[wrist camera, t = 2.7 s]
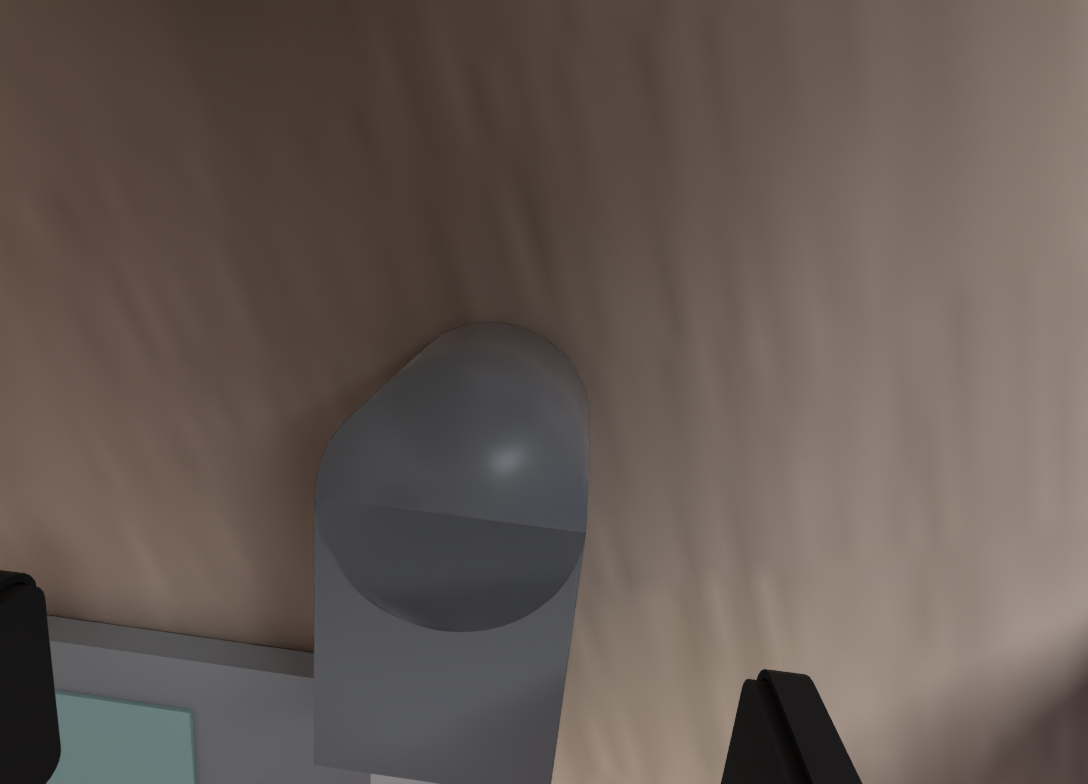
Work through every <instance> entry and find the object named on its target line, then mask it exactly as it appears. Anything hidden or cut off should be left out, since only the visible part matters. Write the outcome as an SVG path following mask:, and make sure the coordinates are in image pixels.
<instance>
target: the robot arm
mask: <svg viewBox="0 0 1088 784" xmlns="http://www.w3.org/2000/svg"><path fill="white" fill-rule="evenodd" d="M60 755H61V743H60V734H59V724H58V715H57V706H56V696H55V687H54V678H53V668H52V659H51V650H50V640H49V631H48V622H47V613H46V603H45V596H44V593H43V591H42V590H41V589H40V588H38V587H37V586H36V583H35V580H34V579H33V578H32V577H31V576H30V575H27V574H25V573H17V572H10V571H2V570H0V784H46V783H47V782H48V780H49V779H50V778H51V777H52V775H53V773H54V771H55V770H56V768H57V765H58V763H59V760H60ZM721 784H862V782H861V780H860V778H859V776H858V774H857V772H856V770H855V768H854V766H853V763H852V761H851V759H850V757H849V755H848V753H847V751H846V749H845V747H844V745H843V743H842V741H841V739H840V737H839V735H838V732H837V730H836V728H835V726H834V724H833V722H832V720H831V718H830V716H829V714H828V712H827V710H826V708H825V706H824V703H823V701H822V699H821V697H820V695H819V693H818V691H817V689H816V687H815V685H814V683H813V681H812V680H811V678H810V677H809V676H807V675H805V674H798V673H790V672H782V671H775V670H767V669H764V670H761V672H760V673H759V675H758V678H757V680H752V679H747V680H745V682H744V684H743V687H742V691H741V695H740V700H739V705H738V709H737V714H736V718H735V723H734V727H733V732H732V736H731V741H730V745H729V750H728V754H727V759H726V763H725V768H724V772H723V777H722V781H721Z"/></svg>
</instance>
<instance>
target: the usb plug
mask: <svg viewBox="0 0 1088 784" xmlns="http://www.w3.org/2000/svg"><path fill="white" fill-rule="evenodd" d="M589 427H590V413H589V403H588V398H587V394H586V391H585V388H584V385H583V382H582V380H581V378H580V376H579V374H578V373H577V371H576V369H575V368H574V366H573V365H572V363H571V362H570V361H569V359H568V358H567V357H566V356H565V355H564V354H563V353H562V352H561V351H560V350H559V349H558V348H557V347H556V346H554V345H553V344H552V343H551V342H550V341H548V340H546V339H545V338H543V337H542V336H540V335H538V334H536V333H534V332H532V331H530V330H528V329H525V328H522V327H519V326H516V325H511V324H505V323H495V322H484V323H474V324H470V325H465V326H461V327H459V328H456V329H453V330H451V331H449V332H447V333H445V334H443V335H441V336H439V337H438V338H437V339H435V340H434V341H432V342H431V343H430V344H429V345H428V346H427V347H425V348H424V349H423V350H422V351H421V352H420V353H419V354H418V355H417V356H416V357H414V358H413V359H412V360H411V361H410V362H409V363H408V364H407V365H406V366H405V367H404V368H402V369H401V370H400V371H399V372H398V373H397V374H396V375H395V376H394V377H393V378H392V379H390V380H389V381H388V382H387V383H386V384H385V385H384V386H383V387H382V388H381V389H380V390H378V391H377V392H376V393H375V394H374V395H373V396H372V397H371V398H370V399H369V400H367V401H366V402H365V403H364V404H363V405H362V406H361V407H360V408H359V409H358V410H357V411H355V412H354V413H353V414H352V415H351V416H350V417H349V418H348V419H347V420H346V421H345V422H344V423H343V424H342V425H341V427H340V428H339V429H338V430H337V432H336V433H335V434H334V436H333V437H332V439H331V441H330V442H329V444H328V446H327V448H326V449H325V452H324V454H323V457H322V460H321V462H320V465H319V469H318V473H317V478H316V484H315V505H314V765H317V766H323V767H330V768H337V769H344V770H350V771H357V772H364V773H371V783H370V784H551V780H552V773H553V766H554V758H555V751H556V744H557V737H558V729H559V722H560V715H561V708H562V700H563V693H564V686H565V679H566V672H567V664H568V657H569V650H570V643H571V635H572V628H573V621H574V614H575V606H576V599H577V592H578V585H579V577H580V570H581V563H582V556H583V548H584V541H585V534H586V520H587V491H588V459H589Z"/></svg>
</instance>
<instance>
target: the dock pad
mask: <svg viewBox="0 0 1088 784" xmlns="http://www.w3.org/2000/svg"><path fill="white" fill-rule="evenodd" d="M47 622H48V631H49V640H50V650H51V659H52V668H53V678H54V687H55V696H56V706H57V715H58V724H59V734H60V743H61V755H60V760H59V763H58V765H57V768H56V770H55V771H54V773H53V775H52V777H51V778H50V779H49V780H48V782H47V783H46V784H370V783H371V773H364V772H357V771H350V770H344V769H337V768H330V767H323V766H317V765H314V653H309V652H302V651H295V650H288V649H281V648H274V647H267V646H260V645H253V644H246V643H239V642H231V641H224V640H217V639H210V638H203V637H196V636H189V635H182V634H175V633H168V632H161V631H154V630H147V629H140V628H133V627H125V626H118V625H111V624H104V623H97V622H90V621H83V620H76V619H69V618H62V617H55V616H48V615H47Z"/></svg>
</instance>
